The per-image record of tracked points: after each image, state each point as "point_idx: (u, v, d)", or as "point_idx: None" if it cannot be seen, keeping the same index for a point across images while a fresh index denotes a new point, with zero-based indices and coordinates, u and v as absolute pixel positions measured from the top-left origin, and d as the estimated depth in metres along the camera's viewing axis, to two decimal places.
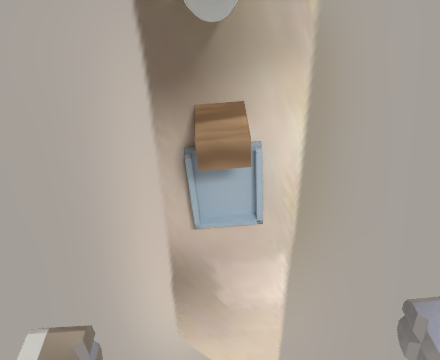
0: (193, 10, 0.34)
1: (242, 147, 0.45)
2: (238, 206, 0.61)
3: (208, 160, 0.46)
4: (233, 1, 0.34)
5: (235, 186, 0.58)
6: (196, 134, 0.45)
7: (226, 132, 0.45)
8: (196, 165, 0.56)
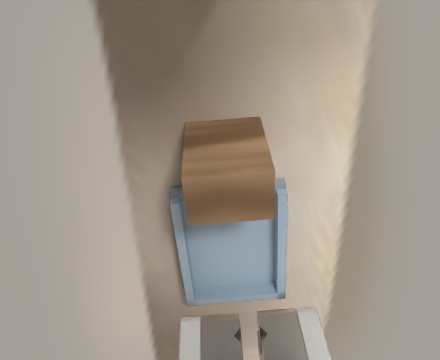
0: None
1: (260, 187, 0.27)
2: (250, 272, 0.42)
3: (204, 208, 0.28)
4: None
5: (246, 244, 0.40)
6: (184, 165, 0.27)
7: (234, 161, 0.27)
8: None
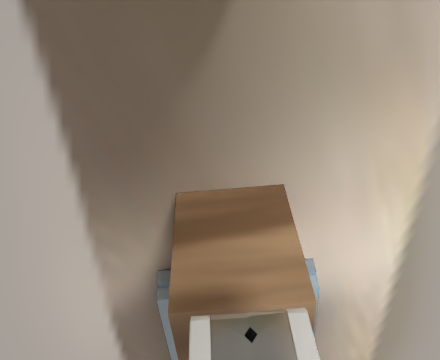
0: None
1: None
2: None
3: None
4: None
5: None
6: (173, 284, 0.18)
7: (250, 278, 0.18)
8: None
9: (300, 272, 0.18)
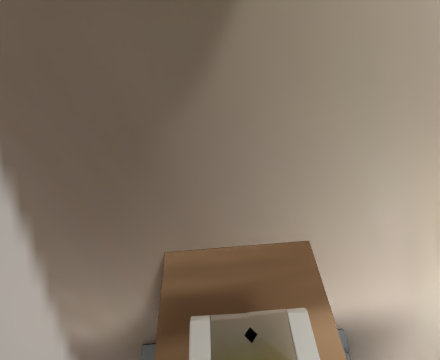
0: None
1: None
2: None
3: None
4: None
5: None
6: None
7: None
8: None
9: None
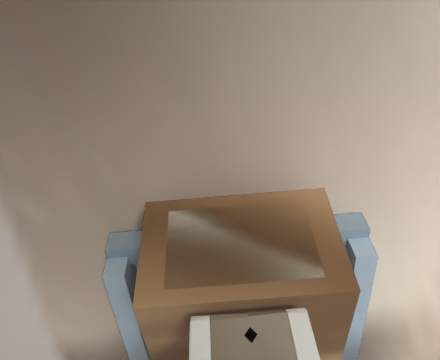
0: None
1: None
2: None
3: None
4: None
5: None
6: None
7: None
8: None
9: None
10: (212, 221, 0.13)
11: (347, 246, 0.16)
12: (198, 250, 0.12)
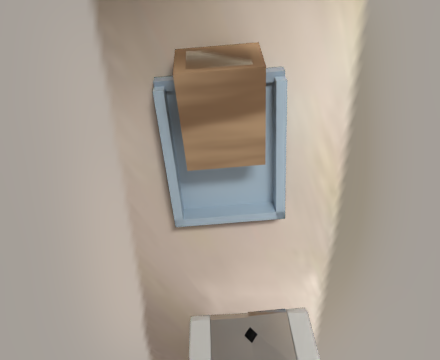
0: None
1: None
2: (245, 190, 0.38)
3: None
4: None
5: None
6: (187, 155, 0.31)
7: (232, 152, 0.31)
8: (175, 111, 0.33)
9: (261, 148, 0.31)
10: (206, 53, 0.29)
11: (274, 81, 0.31)
12: (199, 60, 0.28)
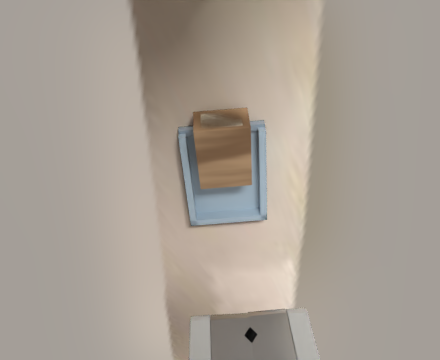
0: None
1: None
2: (239, 199, 0.54)
3: None
4: None
5: None
6: (201, 179, 0.47)
7: (230, 177, 0.47)
8: (192, 148, 0.50)
9: (248, 174, 0.47)
10: (213, 115, 0.45)
11: (258, 130, 0.48)
12: (209, 121, 0.44)
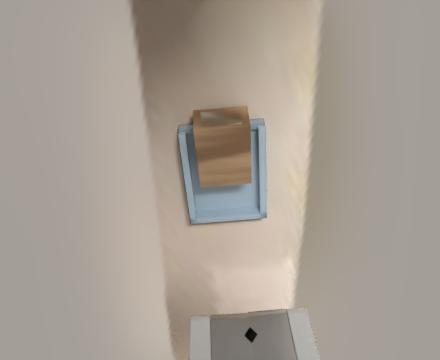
0: None
1: None
2: (239, 198, 0.54)
3: None
4: None
5: None
6: (200, 177, 0.47)
7: (229, 175, 0.47)
8: (191, 147, 0.50)
9: (248, 173, 0.47)
10: (213, 114, 0.45)
11: (257, 128, 0.48)
12: (209, 120, 0.44)
